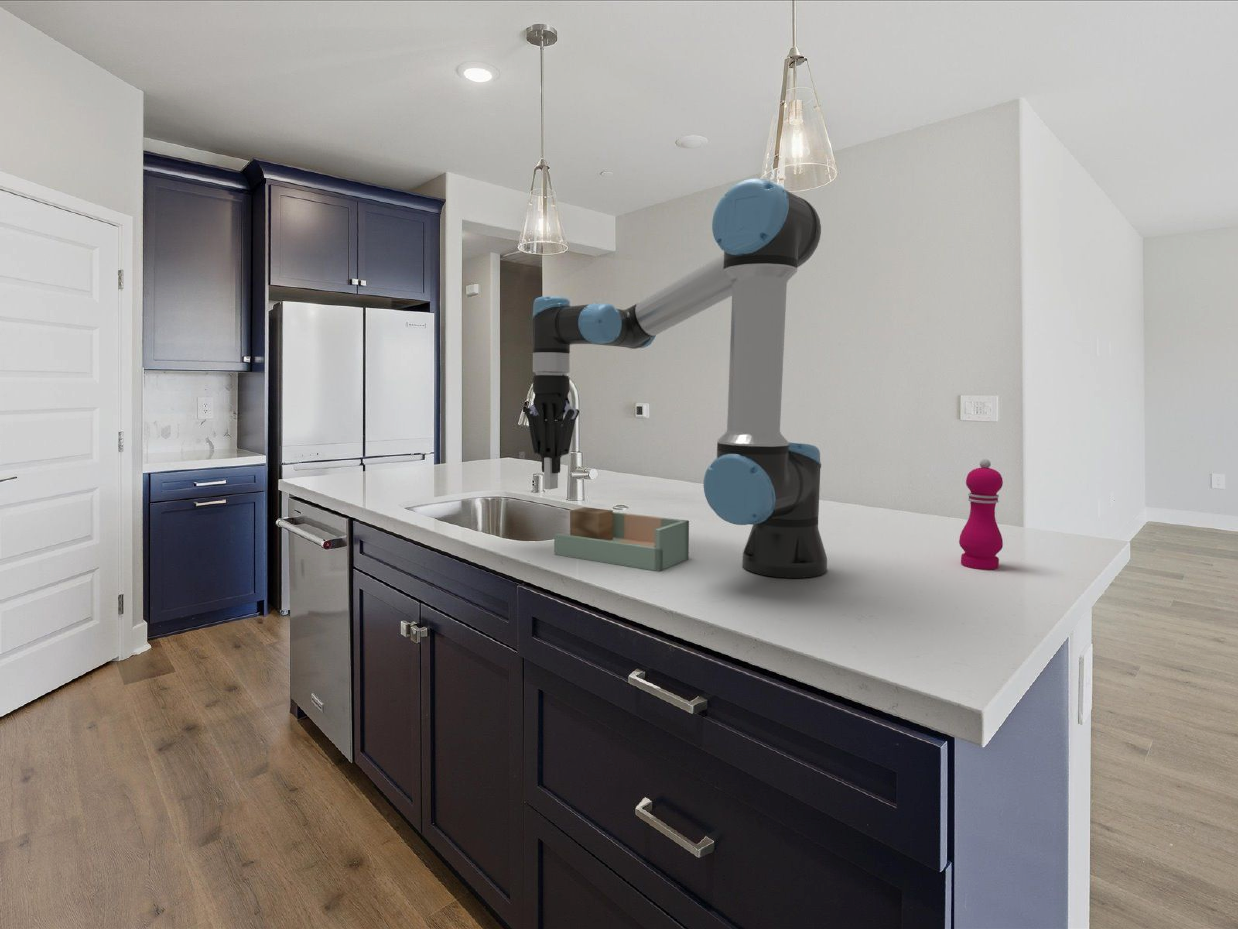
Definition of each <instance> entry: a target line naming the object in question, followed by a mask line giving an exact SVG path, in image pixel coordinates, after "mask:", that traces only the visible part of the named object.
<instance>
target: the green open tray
mask: <svg viewBox="0 0 1238 929" xmlns="http://www.w3.org/2000/svg"><path fill="white" fill-rule="evenodd" d="M553 537H554V538H553V540H554V542H553V544H554V545H553V546H554V549H553V550H554V553H553V554H554V555H556V556H561V557H562V556H563V557H569V558H574V559H575V558H576V559H581V560H588V561H592V562H593V561H594V562H601V563H606V564H611V565H612V564H613V565H619V566H626V567H631V568H636V569H642V570H643V569H644V570H650V571H655V572H661V571H663V570H665V569H668V568H670V567H672V566H675V565H677V564H679V563H680V564H681V563H682V562H684V561H686V560H689V554H690V552H689V550H690V544H689V543H690V540H689V539H690V520H689V519H688V520H687V519H686V520H685V519H678V518H677V519H676V518H671V517H669V518H668V517H663V516H662V517H660V516H652V515H651V516H649V515H645V514H643V515H641V514H634V513H633V514H632V513H624V512H618V511H617V512H616V511H613V540H610V541H608V540H601V539H594V538H587V537H580V536H572V535H570V534H565V533H564V534H563V533H555V534H554V536H553Z"/></svg>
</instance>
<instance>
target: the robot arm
mask: <svg viewBox="0 0 1238 929" xmlns="http://www.w3.org/2000/svg"><path fill="white" fill-rule="evenodd" d="M711 230H712V231H711V232H712V234H713V235H712V236H713V238H714V241H715V243H717V245H718V247H719V248H720V249H721V251H723V253H722V254H720V255H719V256H717V257H715V258H714V259H711V260H710V261H708V262H707V263H705V264H703V265H702V266H699V267H698V268H696V269H694V270H692V271H690V272H689V273H688V274H686V275H684V276H683V277H681V278H679V279H677V280H675V281H674V282H672V283H669V284H668V285H666V286H665V287H663V288H661V289H660V290H657V291H656V292H654V293H653V294H651V295H649V296H647V297H646V298H644V299H642V300H641V301H639V302H637V303H635V304H634V305H632V306H630V307H628V308H626V309H621V308H620V309H619V308H616V307H615V306H614V305H613V304H611V303H601V302H593V303H589V304H580V305H571V301H570V300H569V298H567V297H564V296H553V295H551V296H550V295H549V296H540V297H536V298H535V299H534V301H533V306H532V309H533V310H532V317H531V321H532V372H533V373H535V375H533V377H532V392H533V394H534V398H533V401H532V404H531V405H530V406H529V407H525V408H524V409H523V411H524V412H523V413H524V414H525V417H526V419H527V422H528V428H529V433H530V439H531V444H532V448H533V453H534V454H536V455H537V454H538V455H539V456H540V457H541V472H542V473H543V475H544V476H543V477H544V478H543V490H554V489H558V488H559V473H561V459H562V457H563V456H566V455H569V452H570V448H571V444H572V438H573V434H574V429H575V428H574V427H575V423H576V420H577V418H578V416H579V414H580V410H579V409H577V408H574V407H573V406H571V405H570V399H569V393H570V392H571V390H570V384H571V383H570V380H571V379H570V376H569V375H567V374H569V373H570V370H571V368H570V364H571V363H570V360H571V359H570V357H571V356H570V353H571V351H570V349H571V345H598V346H607V347H620V348H627V349H631V350H632V349H633V350H636V349H637V350H638V349H643V348H646V347H648V346H650V345H651V344H652V343H653V342H654V340H655V339H656V336H657V335H658V334H661V333H662V332H665V331H666V330H669V329H670V328H673V327H674V326H677V325H678V324H680V323H682V322H684V321H686V320H688V319H690V318H692V317H693V316H695V315H697V314H699V313H701V312H703V311H705V310H707V309H709V308H712V307H713V306H714V305H717V304H719V303H721V302H723V301H725V300H726V299H728V298H730V297H731V312H730V313H731V315H730V318H731V319H730V338H729V339H730V342H729V344H730V345H729V364H728V366H729V368H728V370H729V371H728V373H729V374H728V394H727V398H728V399H727V416H726V417H727V418H726V419H727V421H726V422H727V423H726V431H724V432H725V433H724V434H722V435H721V436H720V437H719V438H718V439H717V444H716V458H715V459H714V460H713V461H712V462H711V464H710V465H709V466H708V467H707V469H706V471H705V473H704V477H703V493H704V497H705V499H706V502H707V503H708V505H709V507H710V509H712V511H713V512H714V513H715V514H716V515H717V516H718V517H719V518H720V519H721V520H723V521H725V522H727V523H729V524H732V525H737V526H747V525H748V526H749V525H752V527H751V529H750V533H749V534H748V538H747V540H746V543H745V545H744V546H745V547H744V550H743V552H742V561H741V562H742V563H741V564H742V565H741V566H742V567H743V569H745V570H747V571H748V572H751V573H754V574H757V575H762V576H767V577H768V576H769V577H775V578H786V579H787V578H789V579H790V578H791V579H792V578H793V579H802V578H812V577H813V578H814V577H818V576H821V575H825V574H826V573H827V571H828V557H827V554H826V550H825V547H824V543H823V541H822V537H821V533H820V530H819V511H820V491H821V488H820V487H821V485H820V484H821V469H822V463H821V452H820V450H819V448H818V447H817V446H816V445H814V444H809V443H799V442H798V443H797V442H789V441H788V440H787V439H786V437H785V436H784V435H783V434H782V432H781V418H782V417H781V415H782V397H783V396H782V393H783V375H784V374H783V372H784V368H783V367H784V350H785V348H784V347H785V329H786V312H787V311H786V309H787V308H786V307H787V286H788V282H789V280H790V279H792V277H793V276H795V275H796V273H797V272H798V268H799V267H801V266H802V265H804V264H805V263H806V262H807V261H808V260H809V259H810V258H811V257H812V256H813V254H814V253H815V251H816V250H817V248H818V246H819V243H820V240H821V236H822V224H821V219H820V217H819V214H818V212H817V211H816V209H815V207H814V206H813V205H812V204H811V203H809V202H808V201H807V200H806V199H804V198H802V197H800V196H797V195H795V193H793V192H790V191H788V190H786V189H785V188H784V187H783V186H782V185H781V184H779V183H777V182H775V181H771V180H767V179H763V178H759V177H758V178H757V177H756V178H755V177H754V178H748V179H745V180H742V181H740V182H738V183H736V184H734V185H733V186H732V187H730V188H729V189H728V190H727V192H726V193H725V194H724V195H723V196H721V198H720V200H719V201H718V203H717V205H716V207H715V209H714V212H713V216H712V221H711Z"/></svg>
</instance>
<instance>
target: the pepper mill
mask: <svg viewBox="0 0 1238 929" xmlns="http://www.w3.org/2000/svg"><path fill="white" fill-rule="evenodd" d="M979 466H980V467H977V468H974V469H972V470H971V471H969V472H968V474H967V475H966V478H965V485H966V487H967V488H968V489H969V491H970V492H968V494H967V495H968V498H967V500H968V502H969V503H970V510H969V514H968V515H969V516H968V519H967V521H966V523H965V525H963V526H964V527H963V528H962V530H961V531H960V532H961V533H960V535H959V540H958V544H959V546H960V547H961V549H962V550H963V552H964V553H961V555H960V565H962V566H964V567H967V568H971V569H977V570H986V571H987V570H996V569H998V568H999V564H1000V559H999V557H998V556H997V554H998V553H999V552H1001V551H1002V549H1003V546H1004V543H1003V542H1004V541H1003V536H1002V534H1001V531H1000V529H999V526H998V524H997V520H996V504H997V503H999V498H1000V495H999V494H997V493H998V492H999V491H1000V490H1001V489H1002V487H1003V485H1004V484H1003V483H1004V482H1003V476H1002V474H1001V473H1000V472H999V471H998V470H996V469H993V468H991V461H990V460H989V459H987V458H985V459H981V460H980V462H979Z"/></svg>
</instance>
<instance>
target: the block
mask: <svg viewBox="0 0 1238 929" xmlns="http://www.w3.org/2000/svg"><path fill="white" fill-rule="evenodd" d="M613 512H614V511H613V510H612V509H604V508H595V507H587V506H586V507H585V506H583V507H580V508H576V509H572V510H570V511H569V528H570V529H569V535H572V536H580V537H587V538H594V539H601V540H608V541H610V540H613Z"/></svg>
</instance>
